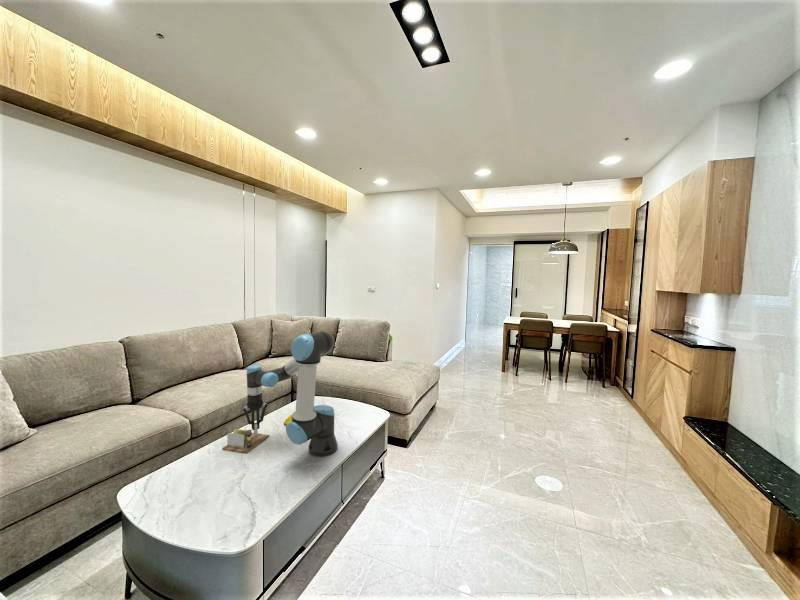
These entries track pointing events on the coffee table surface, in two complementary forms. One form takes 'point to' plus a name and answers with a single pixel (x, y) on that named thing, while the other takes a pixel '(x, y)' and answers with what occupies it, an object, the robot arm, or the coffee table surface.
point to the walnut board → (255, 442)
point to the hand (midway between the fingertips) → (255, 434)
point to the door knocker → (288, 420)
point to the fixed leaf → (238, 440)
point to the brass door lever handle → (243, 432)
